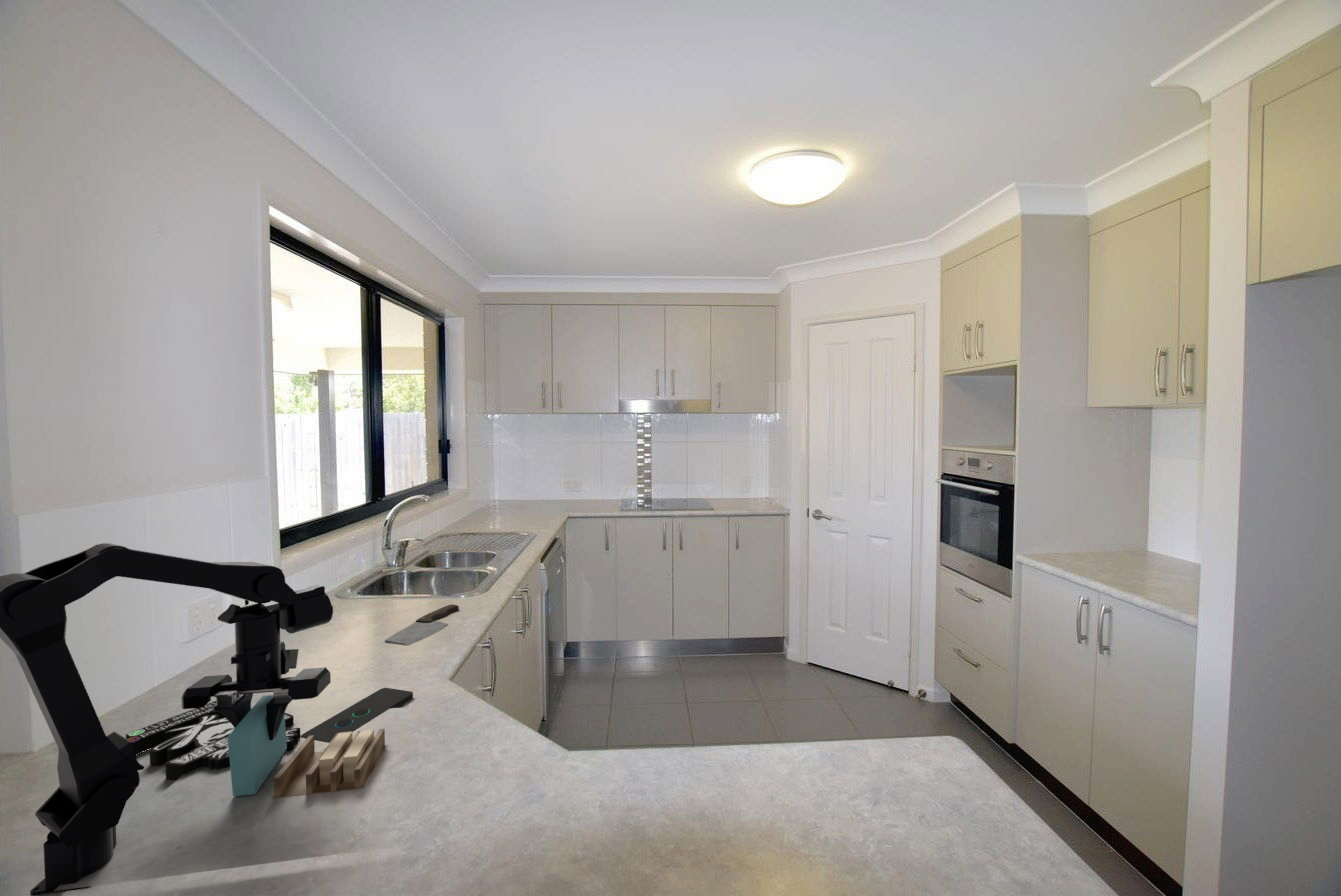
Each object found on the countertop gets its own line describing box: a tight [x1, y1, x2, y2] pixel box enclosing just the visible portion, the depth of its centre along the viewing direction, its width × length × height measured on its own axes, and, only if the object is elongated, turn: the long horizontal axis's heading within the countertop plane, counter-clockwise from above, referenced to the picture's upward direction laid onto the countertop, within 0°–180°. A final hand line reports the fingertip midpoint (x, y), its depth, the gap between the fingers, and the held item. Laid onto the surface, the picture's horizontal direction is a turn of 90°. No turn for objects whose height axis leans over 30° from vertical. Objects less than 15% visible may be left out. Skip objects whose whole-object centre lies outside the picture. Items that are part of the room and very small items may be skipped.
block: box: [228, 694, 287, 797], centre depth 89 cm, size 10×3×10 cm, turn 10°
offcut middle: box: [319, 732, 353, 785], centre depth 92 cm, size 8×2×4 cm, turn 11°
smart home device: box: [300, 687, 414, 744], centre depth 110 cm, size 8×2×20 cm
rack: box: [271, 728, 388, 799], centre depth 92 cm, size 12×13×4 cm
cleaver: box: [384, 603, 460, 646], centre depth 162 cm, size 30×10×2 cm, turn 170°
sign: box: [125, 700, 301, 781], centre depth 100 cm, size 19×3×30 cm
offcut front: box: [343, 729, 375, 782], centre depth 92 cm, size 8×2×4 cm, turn 11°
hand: (260, 740), depth 89 cm, fingers closed on block, 3 cm apart
